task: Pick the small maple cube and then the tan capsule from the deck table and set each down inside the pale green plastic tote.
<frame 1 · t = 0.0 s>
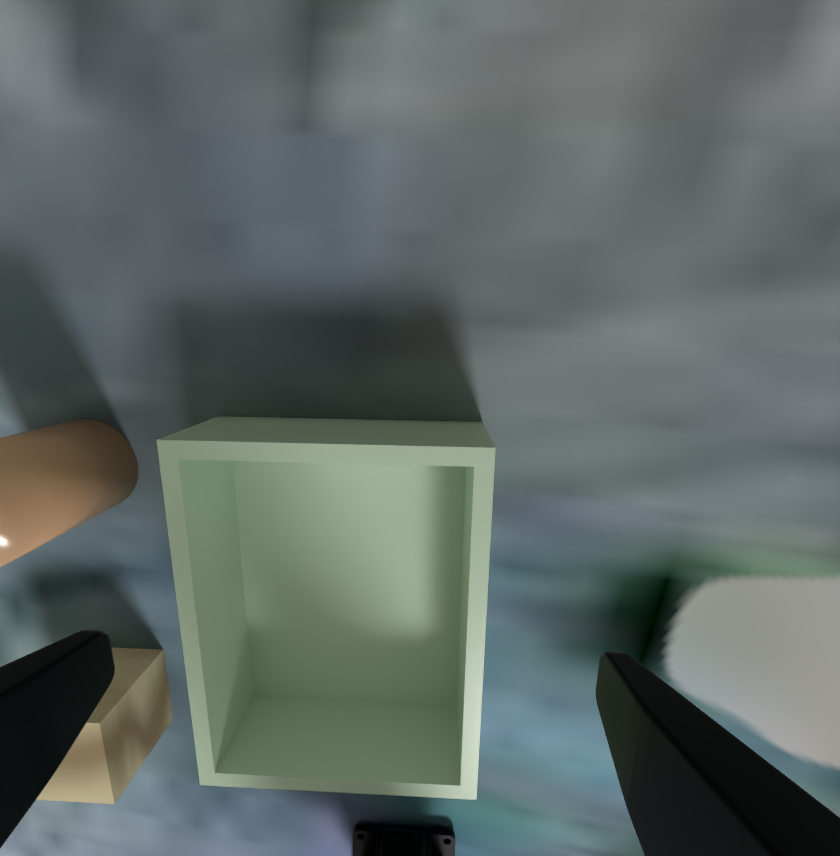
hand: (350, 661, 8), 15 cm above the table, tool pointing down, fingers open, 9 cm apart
tan capsule: (92, 464, 23), on the table
maple cube: (129, 682, 26), on the table
tote: (352, 573, 24), on the table
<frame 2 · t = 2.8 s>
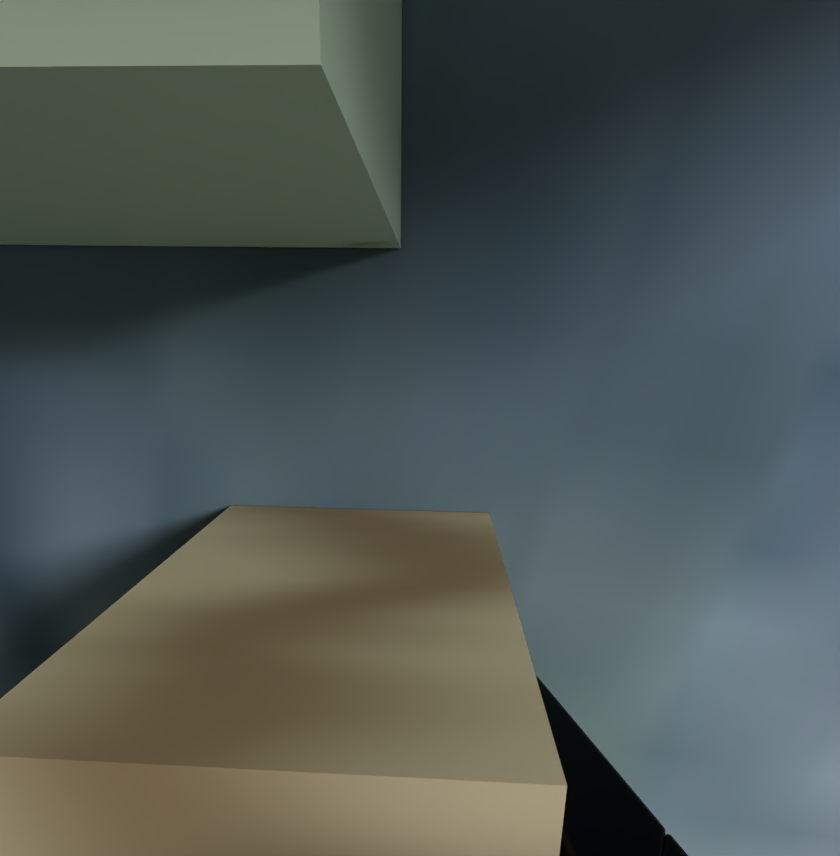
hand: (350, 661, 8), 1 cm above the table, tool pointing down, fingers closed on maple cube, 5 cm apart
maple cube: (360, 622, 9), on the table, touching gripper
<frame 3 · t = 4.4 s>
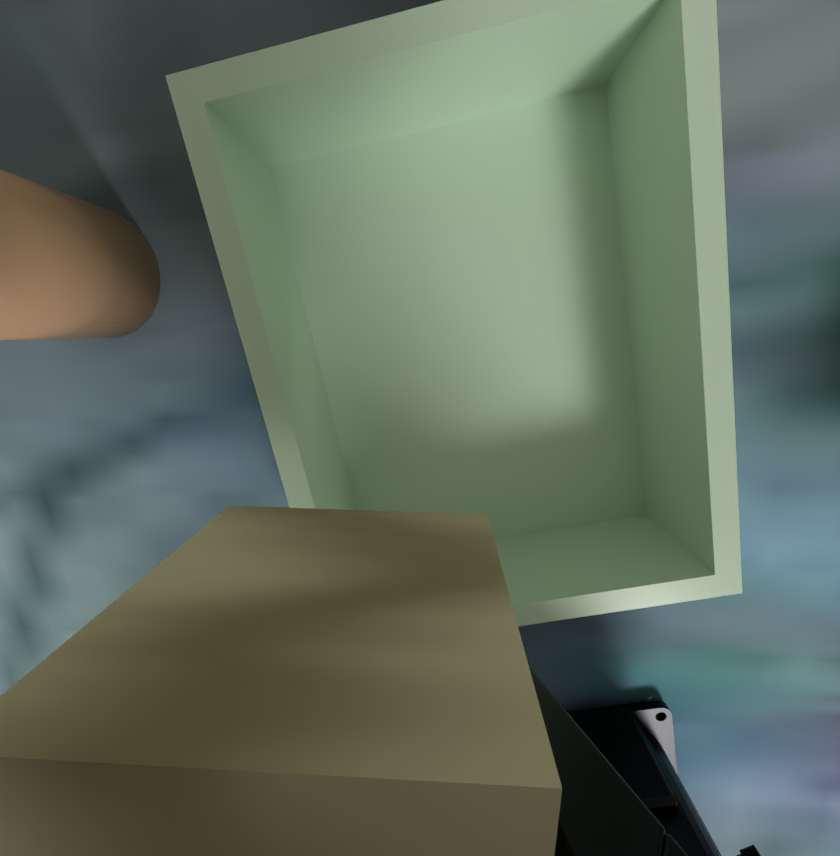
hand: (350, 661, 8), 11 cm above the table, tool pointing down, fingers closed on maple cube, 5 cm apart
tan capsule: (98, 273, 17), on the table
maple cube: (358, 623, 9), point 10 cm above the table, touching gripper
tote: (471, 353, 17), on the table
when the fingers open (3 cm above the table, at t = 6.4 s): maple cube drops 2 cm, resting on tote.
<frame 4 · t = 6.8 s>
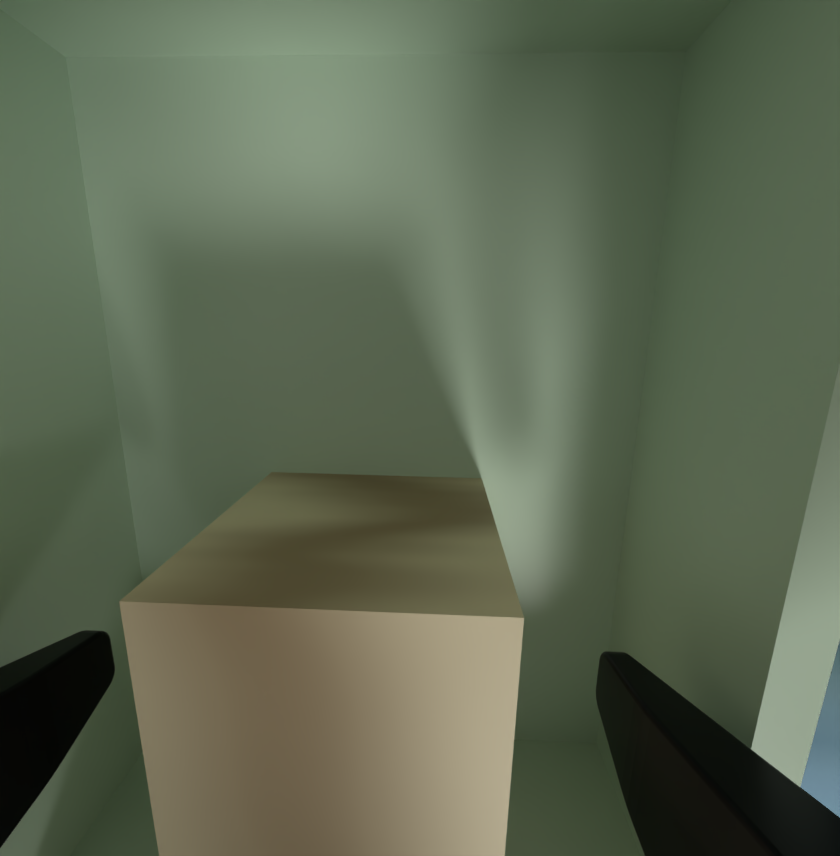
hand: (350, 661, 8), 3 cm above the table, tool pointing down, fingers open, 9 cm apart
maple cube: (376, 570, 11), resting on tote
tote: (375, 448, 10), on the table
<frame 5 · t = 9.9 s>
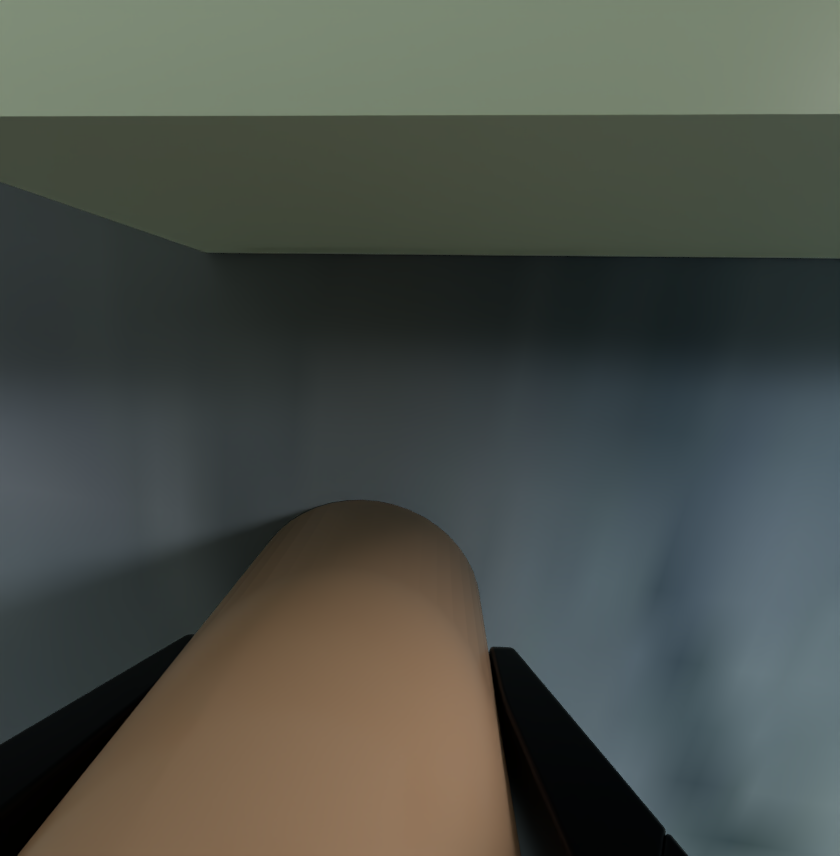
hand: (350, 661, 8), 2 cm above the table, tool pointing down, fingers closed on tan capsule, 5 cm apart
tan capsule: (364, 608, 9), on the table, touching gripper
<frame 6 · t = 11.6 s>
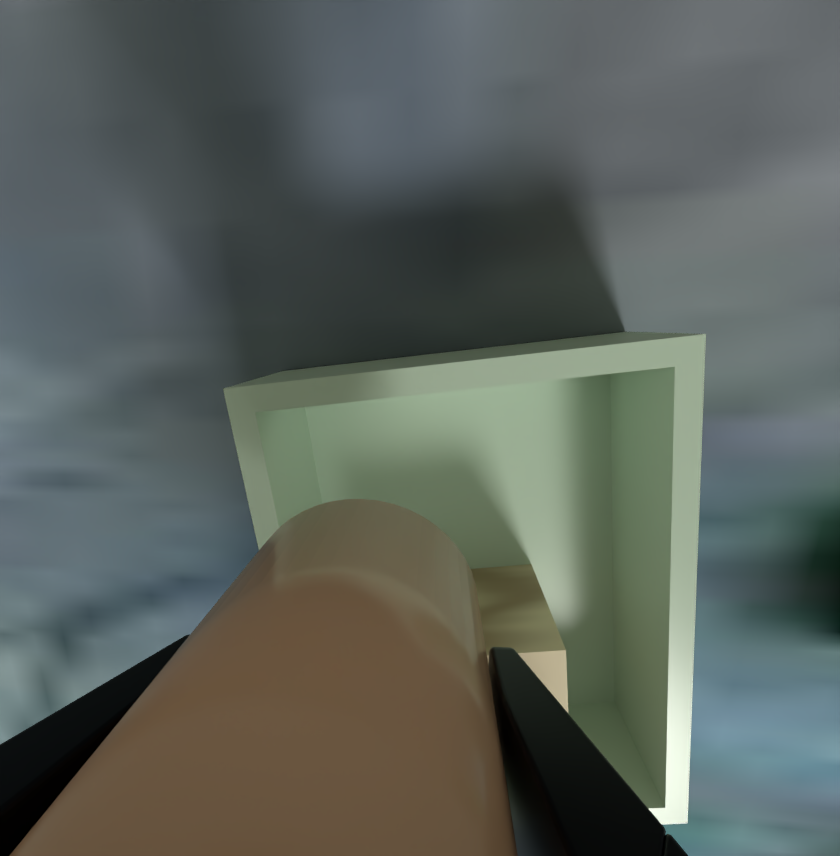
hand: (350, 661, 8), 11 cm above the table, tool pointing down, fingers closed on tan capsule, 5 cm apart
tan capsule: (362, 607, 9), point 9 cm above the table, touching gripper
maple cube: (477, 618, 19), resting on tote
tote: (469, 552, 19), on the table
when the fingers open (4 cm above the table, at t = 13.4 s): tan capsule drops 2 cm, resting on tote.
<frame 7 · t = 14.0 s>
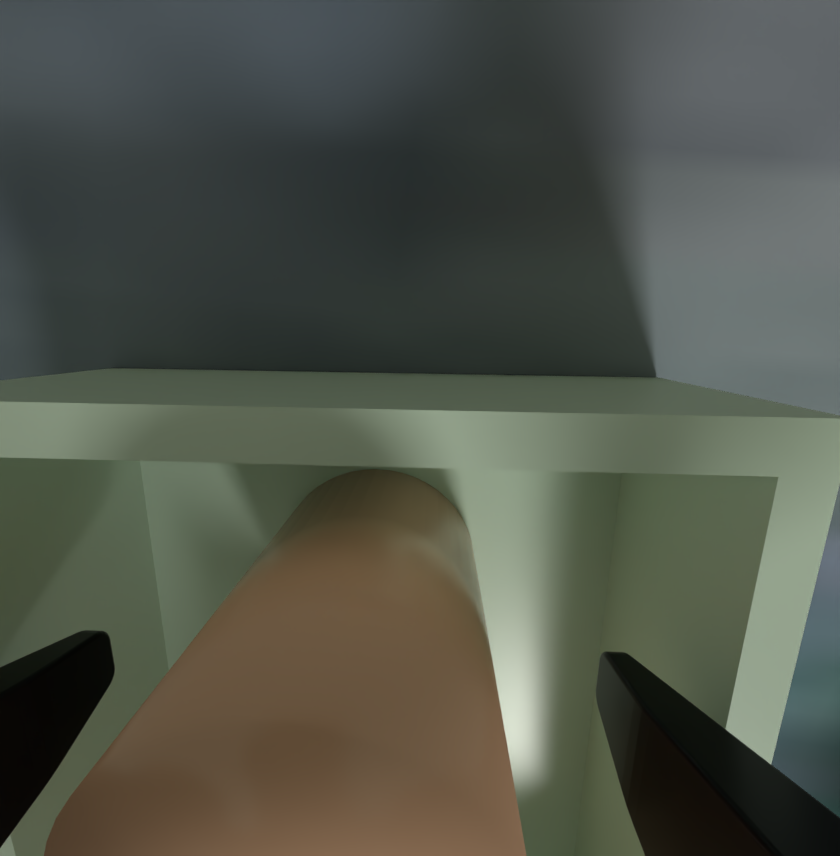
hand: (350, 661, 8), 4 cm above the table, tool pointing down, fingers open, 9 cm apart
tan capsule: (377, 560, 11), point 1 cm above the table, touching tote
tote: (380, 673, 12), on the table
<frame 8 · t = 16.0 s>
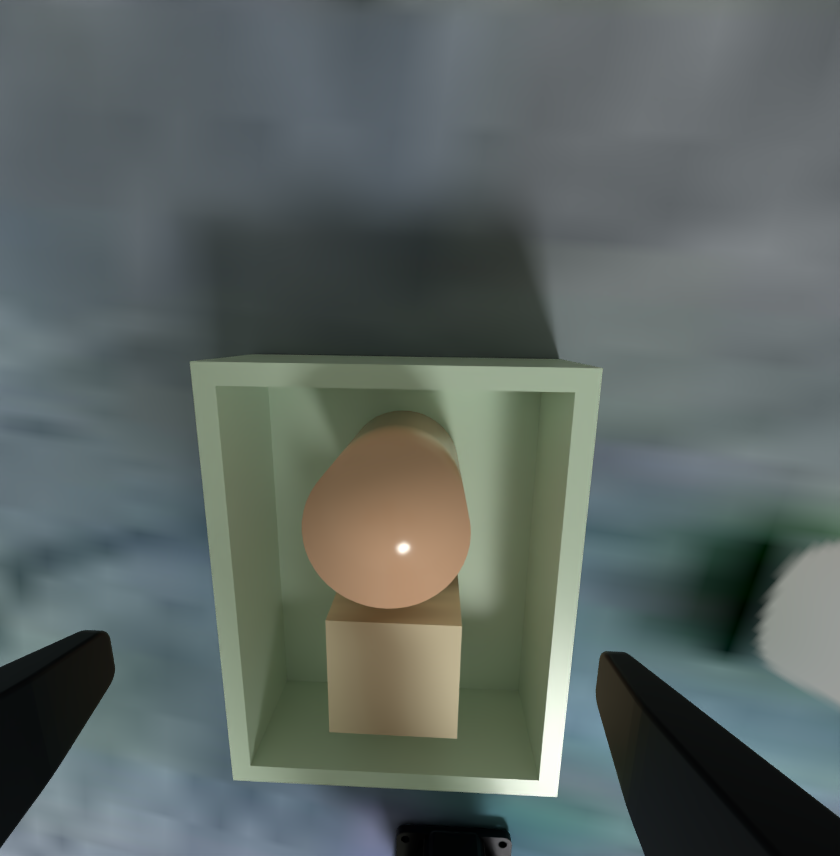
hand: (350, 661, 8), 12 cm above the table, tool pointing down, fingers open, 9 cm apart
tan capsule: (403, 464, 19), point 1 cm above the table, touching tote
maple cube: (403, 600, 21), resting on tote
tote: (403, 539, 21), on the table
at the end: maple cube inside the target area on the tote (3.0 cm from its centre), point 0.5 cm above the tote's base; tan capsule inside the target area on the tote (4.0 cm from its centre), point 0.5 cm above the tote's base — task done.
